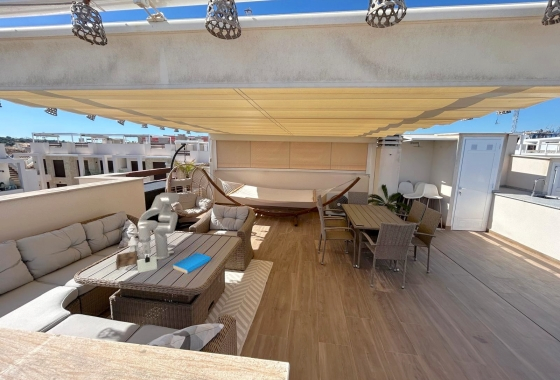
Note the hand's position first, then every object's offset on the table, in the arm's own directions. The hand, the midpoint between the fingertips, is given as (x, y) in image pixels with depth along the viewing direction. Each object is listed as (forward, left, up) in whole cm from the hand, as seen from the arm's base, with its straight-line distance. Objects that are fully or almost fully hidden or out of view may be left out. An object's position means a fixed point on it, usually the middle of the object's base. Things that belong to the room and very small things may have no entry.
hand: (147, 259), depth 178 cm
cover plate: (0, +1, -9) cm, 9 cm away
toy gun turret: (+10, -35, -9) cm, 38 cm away
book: (-32, +8, -10) cm, 35 cm away
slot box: (+15, -19, -9) cm, 26 cm away
